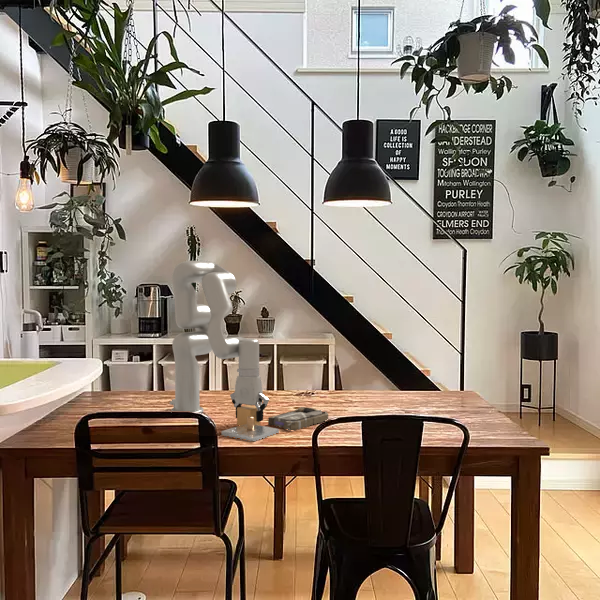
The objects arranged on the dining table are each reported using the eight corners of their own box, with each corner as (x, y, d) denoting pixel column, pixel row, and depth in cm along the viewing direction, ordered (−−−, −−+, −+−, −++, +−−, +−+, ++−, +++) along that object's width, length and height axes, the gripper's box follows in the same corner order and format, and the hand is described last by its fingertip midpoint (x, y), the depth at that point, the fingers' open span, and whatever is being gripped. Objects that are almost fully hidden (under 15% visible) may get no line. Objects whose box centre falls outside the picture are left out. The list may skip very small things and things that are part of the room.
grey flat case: (261, 415, 243) (292, 422, 234) (304, 404, 262) (334, 410, 252) (261, 425, 244) (292, 432, 234) (304, 414, 262) (334, 420, 252)
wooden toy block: (237, 425, 242) (237, 407, 242) (247, 422, 247) (247, 404, 246) (249, 427, 238) (249, 409, 238) (260, 424, 243) (260, 407, 243)
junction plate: (221, 435, 228) (221, 418, 227) (247, 427, 239) (247, 410, 239) (253, 441, 220) (253, 423, 219) (278, 433, 231) (278, 416, 231)
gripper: (224, 372, 243) (224, 418, 244) (261, 376, 233) (261, 424, 234) (237, 369, 250) (237, 414, 250) (274, 373, 240) (274, 420, 240)
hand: (249, 419), depth 242 cm, fingers open, 9 cm apart
